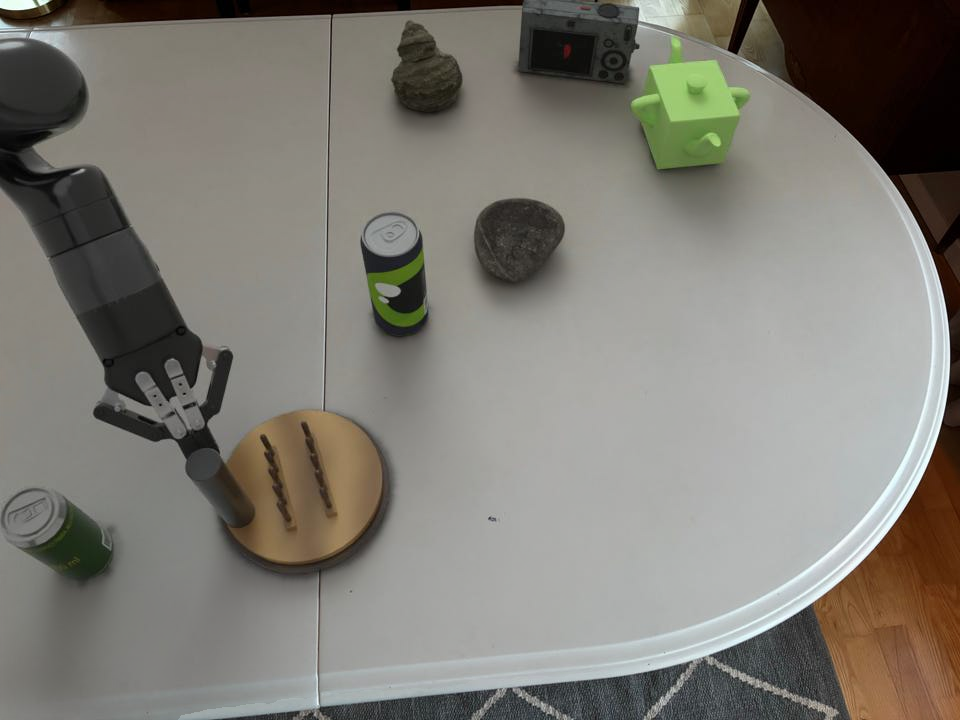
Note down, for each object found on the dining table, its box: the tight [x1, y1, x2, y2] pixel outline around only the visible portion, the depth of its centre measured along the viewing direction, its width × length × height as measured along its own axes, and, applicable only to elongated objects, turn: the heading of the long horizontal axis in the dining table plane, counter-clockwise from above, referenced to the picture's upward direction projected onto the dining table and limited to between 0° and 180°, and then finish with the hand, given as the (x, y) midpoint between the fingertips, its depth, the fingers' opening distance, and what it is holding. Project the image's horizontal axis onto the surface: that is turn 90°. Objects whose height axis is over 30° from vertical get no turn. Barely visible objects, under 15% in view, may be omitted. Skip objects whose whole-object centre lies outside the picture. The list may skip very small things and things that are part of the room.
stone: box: [473, 197, 566, 283], centre depth 94 cm, size 11×11×5 cm
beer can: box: [0, 484, 114, 581], centre depth 72 cm, size 5×5×12 cm
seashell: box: [390, 19, 463, 114], centre depth 106 cm, size 11×12×10 cm
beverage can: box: [359, 210, 429, 337], centre depth 85 cm, size 6×6×15 cm
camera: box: [517, 0, 641, 84], centre depth 109 cm, size 16×4×10 cm, turn 81°
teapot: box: [630, 35, 751, 170], centre depth 101 cm, size 15×13×11 cm
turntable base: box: [219, 413, 390, 575], centre depth 80 cm, size 17×17×1 cm
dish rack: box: [184, 409, 383, 565], centre depth 74 cm, size 16×16×13 cm
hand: (210, 466), depth 72 cm, fingers closed
